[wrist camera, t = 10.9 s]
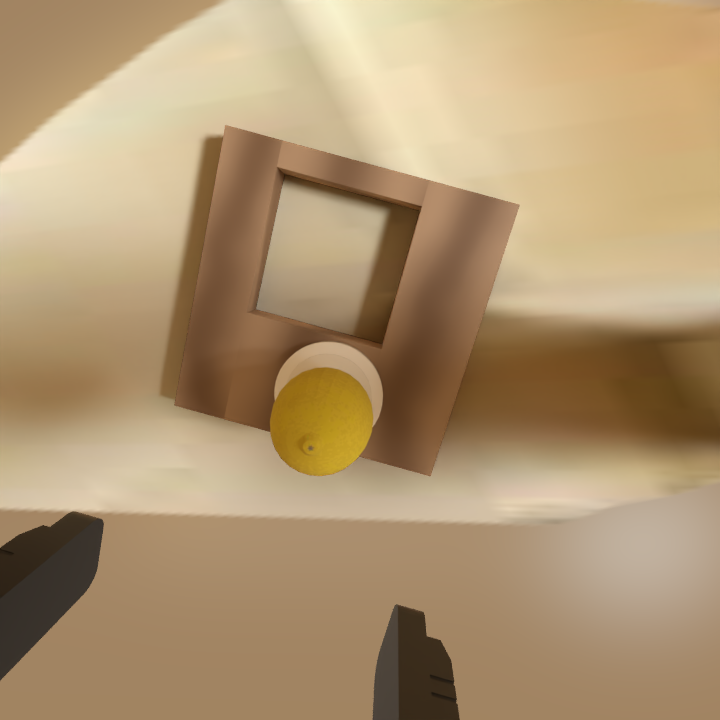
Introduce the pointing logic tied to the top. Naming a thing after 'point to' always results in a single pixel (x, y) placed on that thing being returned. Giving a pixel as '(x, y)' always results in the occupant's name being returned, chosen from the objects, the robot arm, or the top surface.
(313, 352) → the saucer
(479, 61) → the top surface
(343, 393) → the lemon
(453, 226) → the pocket board
